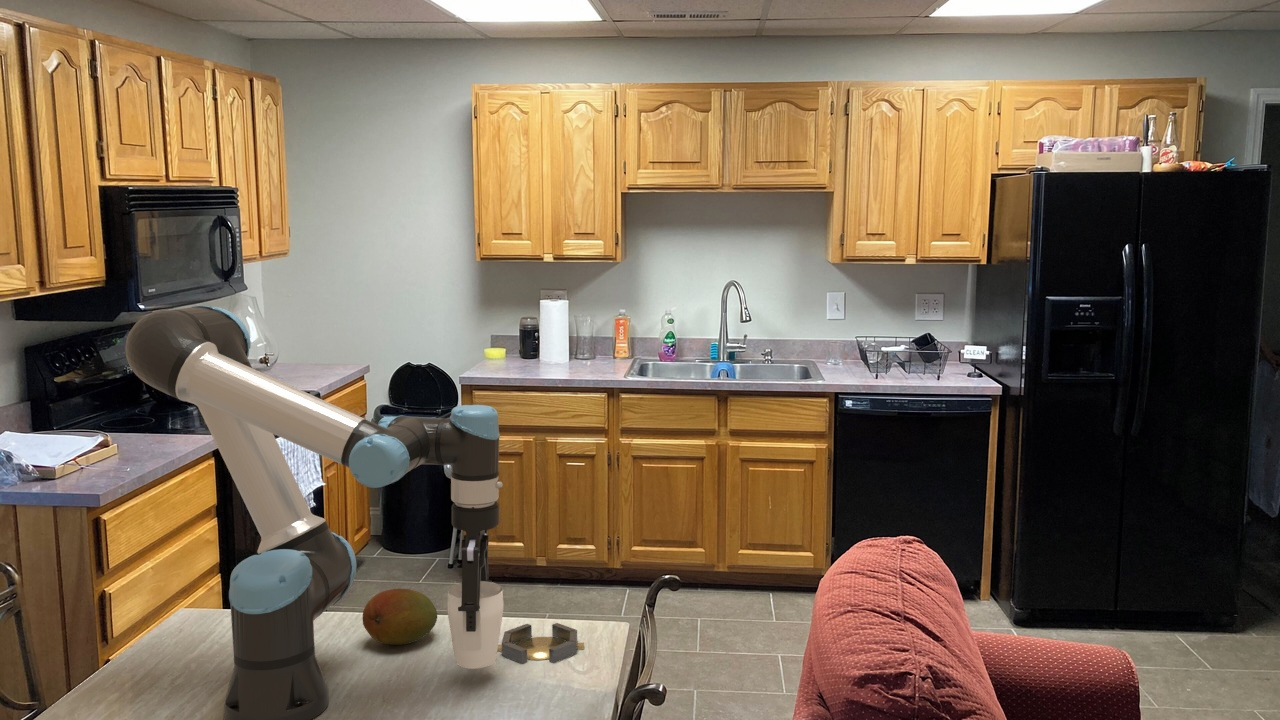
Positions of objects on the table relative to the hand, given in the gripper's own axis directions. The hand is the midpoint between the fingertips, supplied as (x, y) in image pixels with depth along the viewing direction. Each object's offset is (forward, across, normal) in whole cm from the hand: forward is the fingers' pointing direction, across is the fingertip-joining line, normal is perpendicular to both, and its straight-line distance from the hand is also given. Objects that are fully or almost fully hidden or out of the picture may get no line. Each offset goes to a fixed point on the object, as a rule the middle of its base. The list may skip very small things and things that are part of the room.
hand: (475, 637), depth 165 cm
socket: (+7, +12, -10) cm, 17 cm away
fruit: (+8, +17, +15) cm, 24 cm away
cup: (+4, 0, 0) cm, 4 cm away
